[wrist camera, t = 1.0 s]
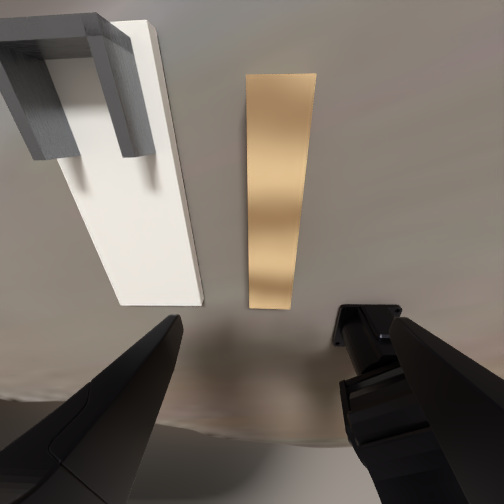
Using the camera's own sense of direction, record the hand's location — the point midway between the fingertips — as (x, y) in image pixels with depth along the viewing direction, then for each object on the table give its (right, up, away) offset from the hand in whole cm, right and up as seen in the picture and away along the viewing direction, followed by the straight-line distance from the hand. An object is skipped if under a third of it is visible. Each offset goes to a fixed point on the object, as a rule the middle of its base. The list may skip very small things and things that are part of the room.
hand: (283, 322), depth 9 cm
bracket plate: (-12, +7, +10) cm, 17 cm away
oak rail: (+1, +7, +10) cm, 12 cm away
